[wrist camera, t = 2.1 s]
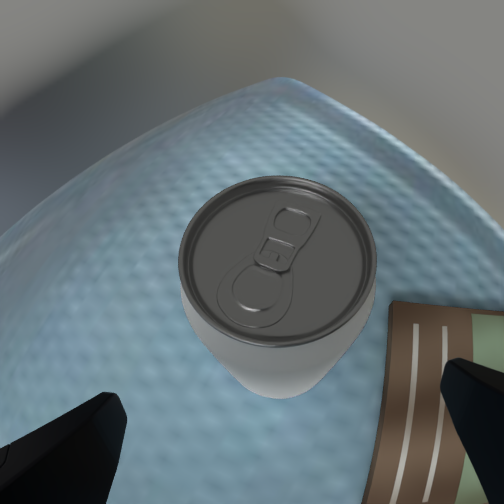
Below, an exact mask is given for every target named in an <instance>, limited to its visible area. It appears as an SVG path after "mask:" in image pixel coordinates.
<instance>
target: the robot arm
mask: <svg viewBox="0 0 504 504" xmlns="http://www.w3.org/2000/svg"><path fill="white" fill-rule="evenodd" d="M440 391H441V394H442V396H443V399H444V401H445V404H446V406H447V409H448V412H449V414H450V417H451V419H452V422H453V425H454V427H455V430H456V432H457V434H458V436H459V439H460V441H461V443H462V445H463V447H464V449H465V451H466V453H467V455H468V457H469V459H470V461H471V464H472V466H473V468H474V470H475V472H476V475H477V477H478V479H479V481H480V484H481V486H482V488H483V491H484V493H485V496H486V498H487V500H488V503H489V504H504V373H503V372H500V371H497V370H494V369H491V368H489V367H486V366H483V365H480V364H477V363H474V362H471V361H468V360H466V359H463V358H460V357H458V358H454V359H451V360H448V361H447V362H446V364H445V367H444V371H443V374H442V378H441V382H440ZM126 425H127V415H126V412H125V410H124V408H123V406H122V403H121V401H120V398H119V396H118V395H117V394H116V393H111V392H102V393H100V394H98V395H97V396H95V397H93V398H91V399H90V400H88V401H86V402H85V403H83V404H81V405H79V406H78V407H76V408H74V409H72V410H71V411H69V412H67V413H65V414H63V415H62V416H60V417H58V418H56V419H55V420H53V421H51V422H49V423H47V424H45V425H44V426H42V427H40V428H38V429H36V430H34V431H33V432H31V433H29V434H27V435H25V436H23V437H21V438H19V439H18V440H16V441H14V442H12V443H11V444H8V445H6V446H4V447H2V448H0V504H106V502H107V499H108V495H109V492H110V489H111V486H112V482H113V479H114V476H115V473H116V470H117V466H118V463H119V458H120V453H121V448H122V443H123V439H124V434H125V429H126Z"/></svg>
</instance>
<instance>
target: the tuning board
mask: <svg viewBox="0 0 504 504" xmlns="http://www.w3.org/2000/svg"><path fill="white" fill-rule="evenodd" d="M458 357H460V358H463V359H466V360H468V361H471V362H474V363H477V364H480V365H483V366H486V367H489V368H491V369H494V370H497V371H500V372H503V373H504V312H503V311H491V310H479V309H468V308H458V307H448V306H438V305H428V304H419V303H410V302H401V301H393V302H392V303H391V304H390V305H389V317H388V339H387V354H386V366H385V377H384V386H383V395H382V403H381V410H380V417H379V423H378V429H377V435H376V441H375V446H374V452H373V457H372V462H371V466H370V471H369V475H368V479H367V484H366V488H365V492H364V496H363V499H362V503H361V504H489V503H488V500H487V498H486V496H485V493H484V491H483V488H482V486H481V484H480V481H479V479H478V477H477V475H476V472H475V470H474V468H473V466H472V464H471V461H470V459H469V457H468V455H467V453H466V451H465V449H464V447H463V445H462V443H461V441H460V439H459V436H458V434H457V432H456V430H455V427H454V425H453V422H452V419H451V417H450V414H449V412H448V409H447V406H446V404H445V401H444V399H443V396H442V394H441V391H440V382H441V378H442V374H443V371H444V367H445V364H446V362H447V361H448V360H451V359H454V358H458Z"/></svg>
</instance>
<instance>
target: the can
mask: <svg viewBox="0 0 504 504" xmlns="http://www.w3.org/2000/svg"><path fill="white" fill-rule="evenodd" d="M376 267H377V255H376V247H375V242H374V239H373V236H372V233H371V231H370V228H369V226H368V224H367V223H366V221H365V219H364V218H363V216H362V215H361V214H360V212H359V211H358V210H357V209H356V208H355V206H354V205H353V204H352V203H351V202H349V201H348V200H347V199H346V198H345V197H343V196H342V195H341V194H339V193H338V192H336V191H334V190H333V189H331V188H329V187H327V186H325V185H323V184H320V183H318V182H315V181H312V180H308V179H304V178H300V177H293V176H265V177H258V178H253V179H249V180H246V181H243V182H240V183H237V184H235V185H232V186H230V187H228V188H226V189H224V190H223V191H221V192H219V193H218V194H216V195H215V196H214V197H212V198H211V199H210V200H209V201H207V202H206V203H205V204H204V205H203V206H202V207H201V208H200V209H199V210H198V212H197V213H196V214H195V215H194V217H193V218H192V220H191V221H190V223H189V224H188V226H187V228H186V230H185V233H184V235H183V238H182V241H181V244H180V249H179V257H178V268H179V276H180V280H181V297H182V303H183V307H184V310H185V313H186V316H187V318H188V320H189V322H190V324H191V326H192V328H193V330H194V331H195V333H196V335H197V336H198V337H199V339H200V340H201V341H202V343H203V344H204V345H205V346H206V347H207V349H208V350H209V351H210V352H211V353H212V354H213V355H214V356H215V358H216V359H217V360H218V361H219V362H220V363H221V364H222V365H223V366H224V367H225V368H226V369H227V370H228V371H229V372H230V373H231V374H232V375H233V376H234V377H235V378H236V379H237V380H238V381H239V382H240V383H241V384H242V385H243V386H244V387H245V388H247V389H248V390H250V391H251V392H253V393H255V394H258V395H261V396H264V397H268V398H275V399H285V398H291V397H295V396H298V395H300V394H302V393H304V392H306V391H308V390H309V389H311V388H312V387H313V386H315V385H316V384H317V383H318V382H319V381H320V380H321V379H322V378H323V377H324V376H325V375H326V374H327V373H328V372H329V370H330V369H331V368H332V367H333V366H334V365H335V364H336V363H337V362H338V360H339V359H340V358H341V357H342V356H343V355H344V353H345V352H346V351H347V350H348V349H349V347H350V346H351V345H352V344H353V342H354V341H355V340H356V338H357V337H358V335H359V334H360V332H361V331H362V329H363V328H364V326H365V324H366V322H367V320H368V317H369V315H370V312H371V310H372V306H373V303H374V298H375V290H376V277H375V274H376Z"/></svg>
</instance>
